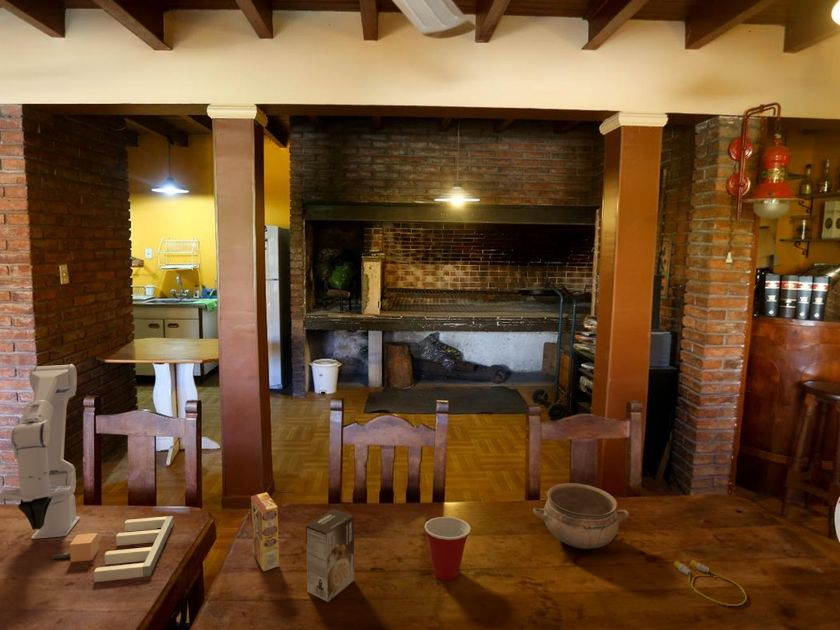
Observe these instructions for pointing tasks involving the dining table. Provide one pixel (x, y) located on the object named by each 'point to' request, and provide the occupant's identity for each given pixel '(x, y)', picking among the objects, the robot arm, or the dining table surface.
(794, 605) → the dining table surface
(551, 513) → the cooking pot
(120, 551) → the cord comb
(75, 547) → the tan handled block
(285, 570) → the dining table surface
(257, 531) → the candy box
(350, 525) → the coffee box
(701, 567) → the yellow looped cord
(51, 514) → the robot arm
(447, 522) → the plastic cup
